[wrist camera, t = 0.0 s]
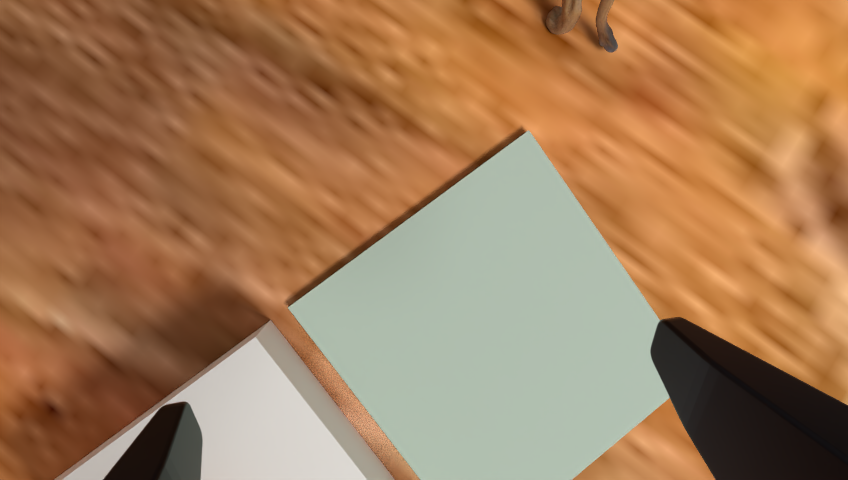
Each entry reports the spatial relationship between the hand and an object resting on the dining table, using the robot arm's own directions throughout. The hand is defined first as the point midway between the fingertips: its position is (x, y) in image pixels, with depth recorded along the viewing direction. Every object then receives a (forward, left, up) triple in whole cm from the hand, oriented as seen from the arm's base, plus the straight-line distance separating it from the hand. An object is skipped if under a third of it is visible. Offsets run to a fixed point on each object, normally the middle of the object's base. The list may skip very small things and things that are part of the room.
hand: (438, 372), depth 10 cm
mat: (-5, -3, -15) cm, 16 cm away
